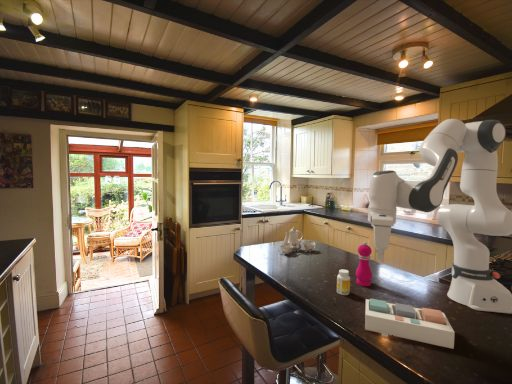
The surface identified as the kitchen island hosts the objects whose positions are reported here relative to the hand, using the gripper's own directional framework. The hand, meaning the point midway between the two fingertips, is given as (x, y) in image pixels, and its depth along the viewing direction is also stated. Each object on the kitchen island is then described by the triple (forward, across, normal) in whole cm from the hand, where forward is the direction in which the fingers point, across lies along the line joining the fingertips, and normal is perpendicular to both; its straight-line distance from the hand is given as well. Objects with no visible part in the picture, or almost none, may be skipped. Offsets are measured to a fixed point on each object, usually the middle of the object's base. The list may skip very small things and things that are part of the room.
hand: (379, 256), depth 92 cm
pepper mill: (+22, -31, -5) cm, 38 cm away
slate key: (+19, +2, +8) cm, 21 cm away
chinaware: (+22, -70, -48) cm, 87 cm away
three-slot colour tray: (+22, +3, +8) cm, 24 cm away
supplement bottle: (+22, -17, -13) cm, 31 cm away
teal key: (+19, +2, 0) cm, 19 cm away
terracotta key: (+19, +2, +16) cm, 25 cm away
